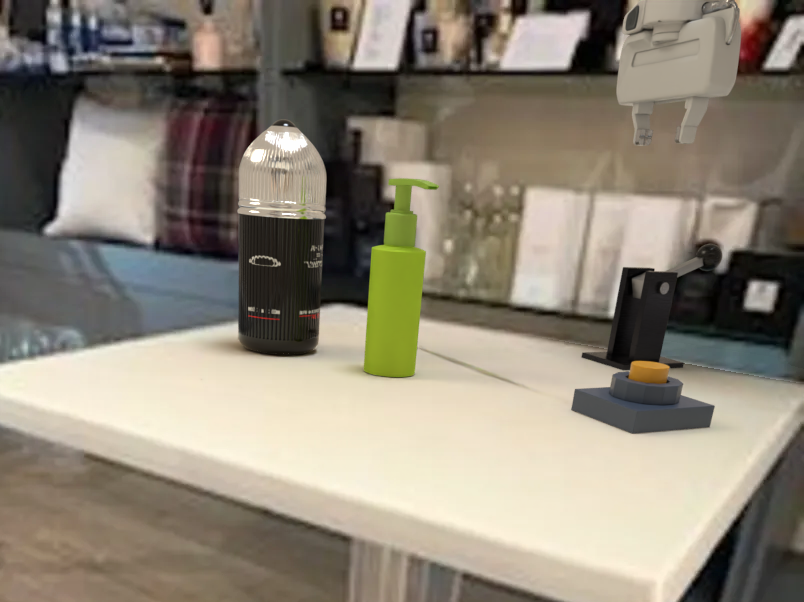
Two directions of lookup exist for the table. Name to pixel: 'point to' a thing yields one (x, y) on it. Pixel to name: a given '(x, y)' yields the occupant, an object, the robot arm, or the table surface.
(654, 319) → the bracket
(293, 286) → the spray bottle
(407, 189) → the soap dispenser
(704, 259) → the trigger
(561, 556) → the table surface
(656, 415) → the button housing
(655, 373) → the button
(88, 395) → the table surface
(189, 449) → the table surface
